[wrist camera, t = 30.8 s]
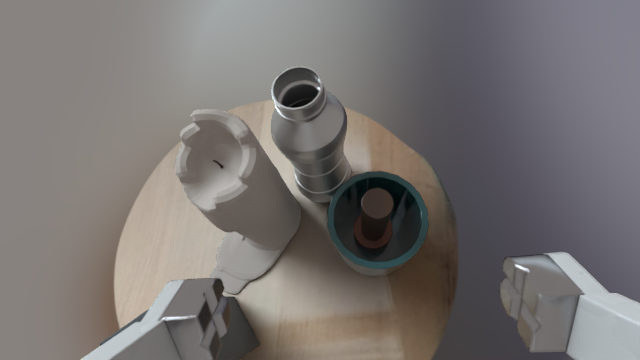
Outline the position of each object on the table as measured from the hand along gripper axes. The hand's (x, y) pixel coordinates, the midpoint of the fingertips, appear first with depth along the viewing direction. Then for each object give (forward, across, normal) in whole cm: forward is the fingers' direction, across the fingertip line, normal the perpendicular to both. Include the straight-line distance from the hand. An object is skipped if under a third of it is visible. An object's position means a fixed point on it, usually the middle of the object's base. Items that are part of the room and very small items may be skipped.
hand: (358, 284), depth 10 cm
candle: (+26, +12, +15) cm, 32 cm away
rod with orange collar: (+25, -2, +15) cm, 29 cm away
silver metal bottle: (+31, +3, +10) cm, 32 cm away
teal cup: (+25, -2, +16) cm, 30 cm away
